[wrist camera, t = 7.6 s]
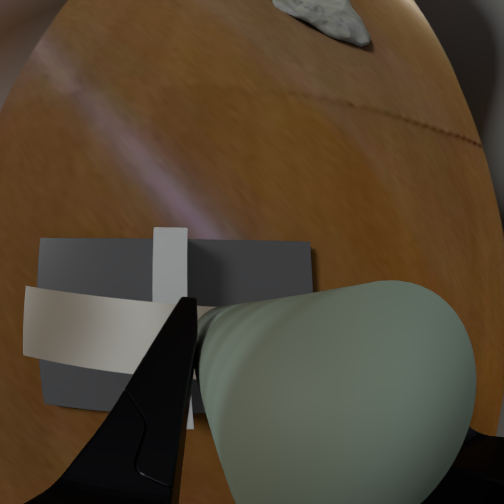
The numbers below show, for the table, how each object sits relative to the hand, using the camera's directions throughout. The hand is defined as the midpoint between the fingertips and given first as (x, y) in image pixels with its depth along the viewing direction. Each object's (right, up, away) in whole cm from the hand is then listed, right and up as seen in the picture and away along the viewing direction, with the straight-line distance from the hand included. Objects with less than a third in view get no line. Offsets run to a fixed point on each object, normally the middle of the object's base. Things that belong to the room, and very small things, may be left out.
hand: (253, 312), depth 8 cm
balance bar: (-2, -3, +6) cm, 7 cm away
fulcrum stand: (-6, -4, +12) cm, 14 cm away
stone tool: (+9, +38, +24) cm, 46 cm away
